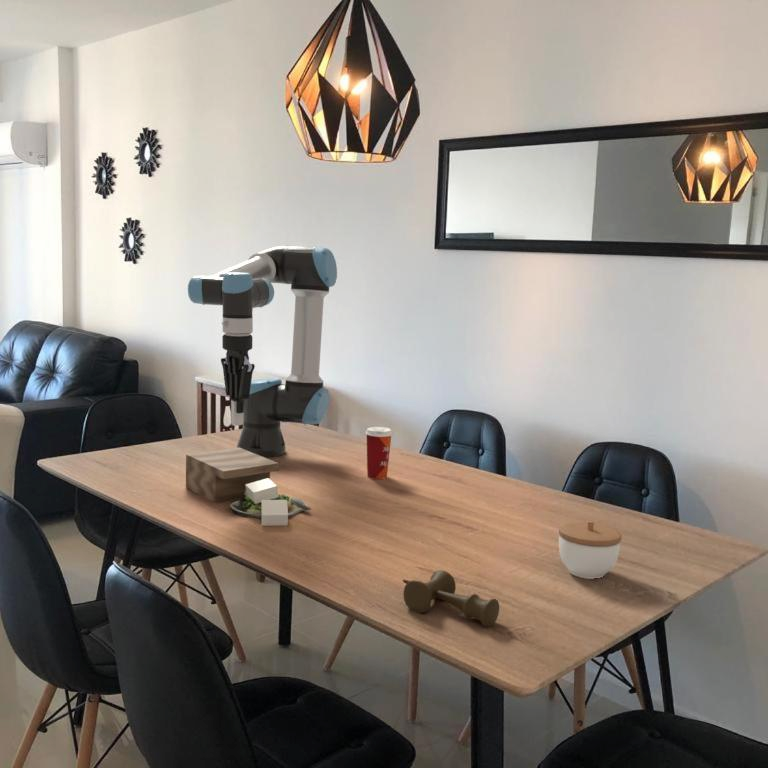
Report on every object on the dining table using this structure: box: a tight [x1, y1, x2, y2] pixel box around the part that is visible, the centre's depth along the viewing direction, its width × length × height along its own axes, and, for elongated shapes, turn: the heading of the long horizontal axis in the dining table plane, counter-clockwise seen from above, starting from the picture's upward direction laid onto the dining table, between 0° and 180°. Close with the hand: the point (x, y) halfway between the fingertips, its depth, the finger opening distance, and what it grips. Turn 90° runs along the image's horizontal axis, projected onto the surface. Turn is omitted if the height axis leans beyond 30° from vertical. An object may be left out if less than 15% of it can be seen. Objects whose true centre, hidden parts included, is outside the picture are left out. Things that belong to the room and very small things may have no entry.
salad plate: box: [228, 490, 312, 519], centre depth 208 cm, size 19×18×5 cm
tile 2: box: [260, 500, 289, 527], centre depth 198 cm, size 6×6×3 cm
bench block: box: [185, 447, 280, 503], centre depth 220 cm, size 20×16×9 cm
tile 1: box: [246, 478, 279, 504], centre depth 206 cm, size 6×6×3 cm
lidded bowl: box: [558, 520, 623, 580], centre depth 174 cm, size 13×13×11 cm
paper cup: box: [365, 426, 393, 480], centre depth 241 cm, size 8×8×14 cm
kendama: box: [402, 569, 500, 628], centre depth 153 cm, size 6×10×20 cm
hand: (237, 424), depth 218 cm, fingers closed
